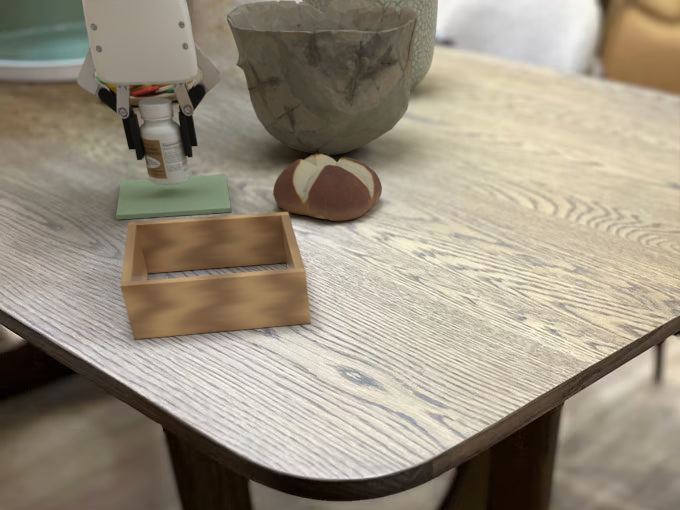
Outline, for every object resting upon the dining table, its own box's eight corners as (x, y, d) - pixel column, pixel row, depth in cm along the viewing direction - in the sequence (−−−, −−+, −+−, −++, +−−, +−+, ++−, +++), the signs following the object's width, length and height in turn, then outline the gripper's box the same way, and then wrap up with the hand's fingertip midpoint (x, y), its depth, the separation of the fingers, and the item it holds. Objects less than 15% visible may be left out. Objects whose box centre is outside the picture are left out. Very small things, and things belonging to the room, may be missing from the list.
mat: (117, 220, 90) (115, 215, 89) (121, 184, 98) (120, 180, 98) (231, 212, 92) (230, 207, 91) (226, 178, 100) (225, 174, 100)
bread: (345, 230, 88) (342, 179, 85) (259, 211, 92) (252, 161, 89) (400, 200, 95) (399, 152, 92) (318, 183, 99) (314, 136, 96)
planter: (319, 73, 142) (307, -70, 129) (442, 76, 141) (443, -68, 128) (298, 104, 126) (282, -56, 114) (436, 107, 126) (436, -53, 113)
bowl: (449, 145, 112) (450, 8, 101) (346, 188, 98) (336, 36, 88) (321, 119, 120) (311, -9, 110) (211, 156, 107) (187, 13, 97)
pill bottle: (142, 179, 94) (125, 100, 88) (178, 171, 96) (163, 94, 91) (161, 189, 91) (145, 108, 86) (197, 181, 94) (183, 102, 88)
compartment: (134, 339, 69) (120, 286, 66) (139, 271, 80) (127, 222, 77) (311, 323, 72) (305, 271, 69) (293, 259, 82) (288, 211, 79)
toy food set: (203, 89, 133) (199, 65, 130) (174, 110, 123) (170, 84, 121) (122, 85, 134) (116, 61, 131) (87, 106, 124) (80, 80, 122)
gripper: (213, -61, 84) (241, 141, 96) (33, -59, 81) (86, 149, 93) (215, -52, 78) (245, 161, 91) (23, -50, 75) (81, 170, 88)
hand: (164, 153), depth 92 cm, fingers closed on pill bottle, 4 cm apart
